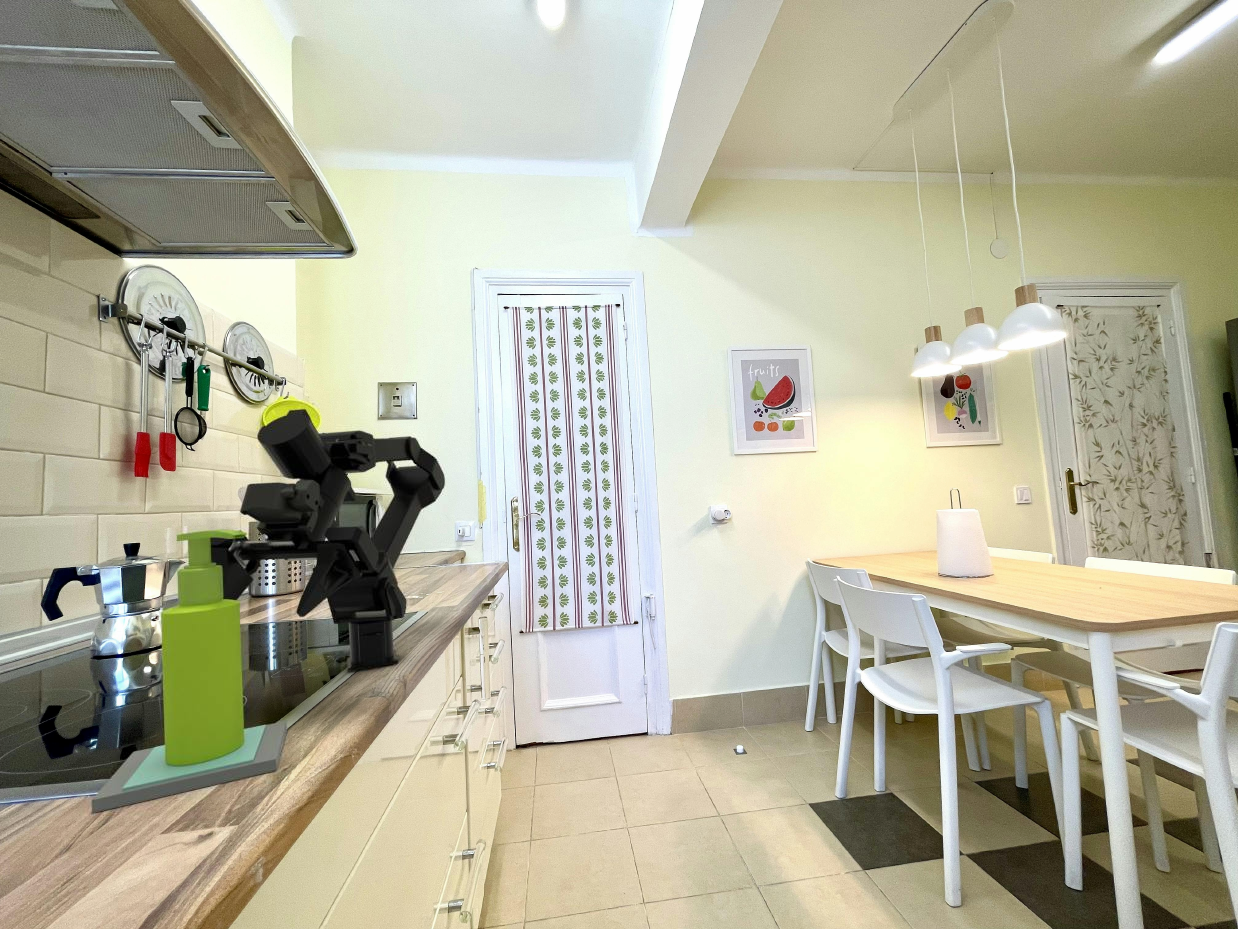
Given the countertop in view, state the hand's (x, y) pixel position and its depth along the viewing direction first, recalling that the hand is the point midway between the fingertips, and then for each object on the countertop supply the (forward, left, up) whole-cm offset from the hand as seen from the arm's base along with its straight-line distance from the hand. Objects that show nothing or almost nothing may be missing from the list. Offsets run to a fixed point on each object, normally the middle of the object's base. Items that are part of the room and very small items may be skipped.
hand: (256, 616), depth 61 cm
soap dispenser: (+7, -3, -11) cm, 13 cm away
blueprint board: (+7, -4, -12) cm, 14 cm away
